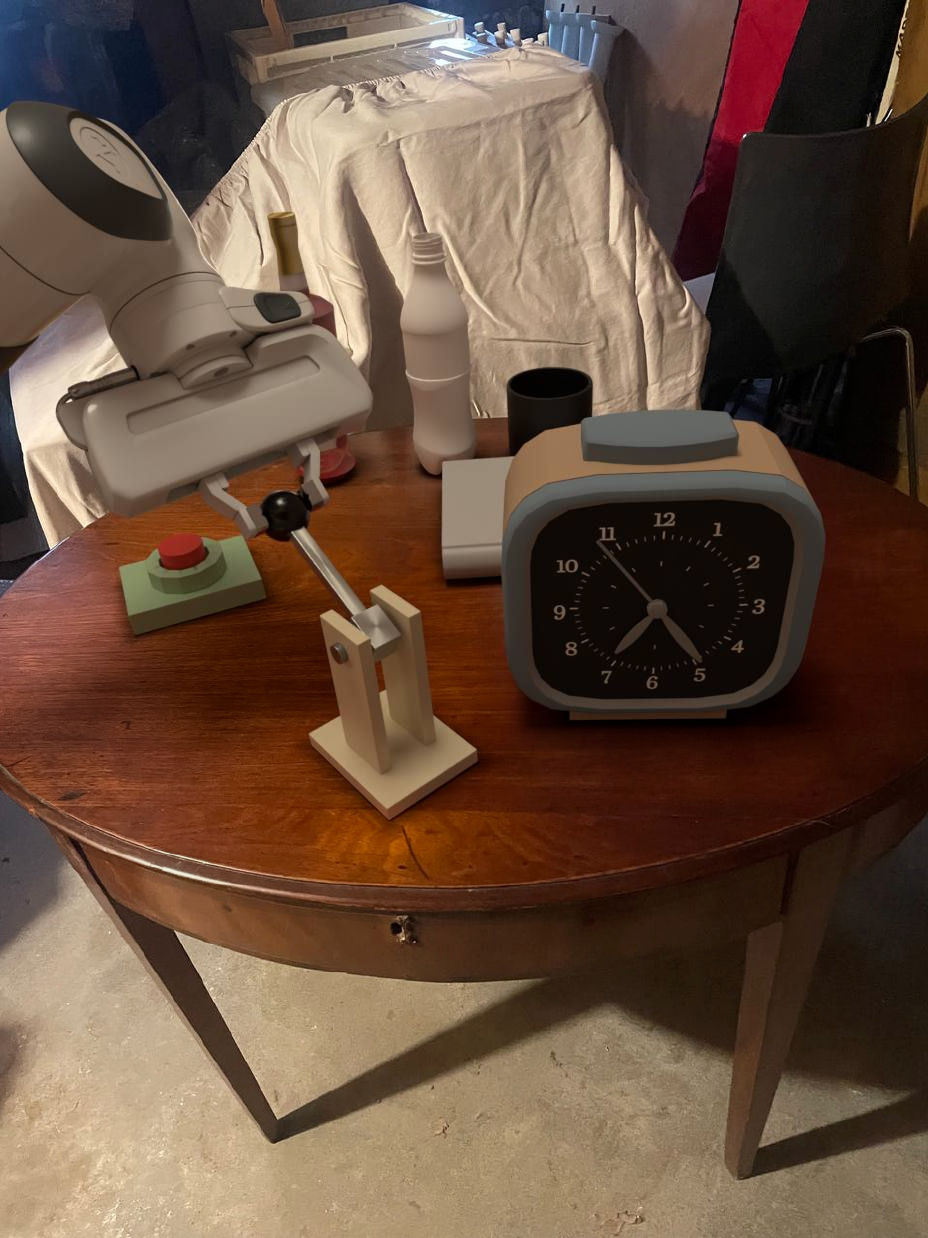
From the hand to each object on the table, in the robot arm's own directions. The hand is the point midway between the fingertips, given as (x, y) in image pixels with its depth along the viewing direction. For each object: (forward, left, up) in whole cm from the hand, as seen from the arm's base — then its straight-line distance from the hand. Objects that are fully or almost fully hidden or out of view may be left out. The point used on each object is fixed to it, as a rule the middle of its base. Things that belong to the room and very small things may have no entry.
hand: (289, 520), depth 61 cm
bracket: (+3, -9, -16) cm, 18 cm away
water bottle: (+24, +32, -16) cm, 43 cm away
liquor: (+11, +37, -16) cm, 42 cm away
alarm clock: (+23, -11, -16) cm, 30 cm away
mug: (+35, +29, -16) cm, 48 cm away
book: (+29, +13, -16) cm, 36 cm away
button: (-7, +20, -12) cm, 25 cm away
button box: (-7, +20, -16) cm, 27 cm away
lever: (+1, -3, -4) cm, 5 cm away
